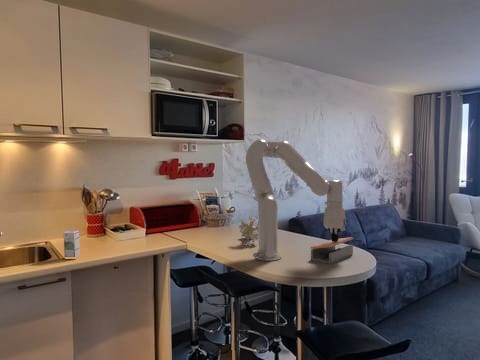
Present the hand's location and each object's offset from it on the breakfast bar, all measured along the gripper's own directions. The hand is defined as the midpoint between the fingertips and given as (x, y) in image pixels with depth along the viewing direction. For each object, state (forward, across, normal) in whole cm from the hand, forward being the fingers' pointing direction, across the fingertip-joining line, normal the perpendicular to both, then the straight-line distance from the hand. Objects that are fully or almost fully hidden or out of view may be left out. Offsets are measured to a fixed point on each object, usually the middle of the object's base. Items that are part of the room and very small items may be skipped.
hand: (335, 241), depth 168 cm
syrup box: (+8, -101, -91) cm, 136 cm away
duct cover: (+2, -2, 0) cm, 2 cm away
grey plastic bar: (+8, -2, 0) cm, 8 cm away
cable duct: (+8, -2, 0) cm, 8 cm away
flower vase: (+8, -56, -3) cm, 57 cm away
